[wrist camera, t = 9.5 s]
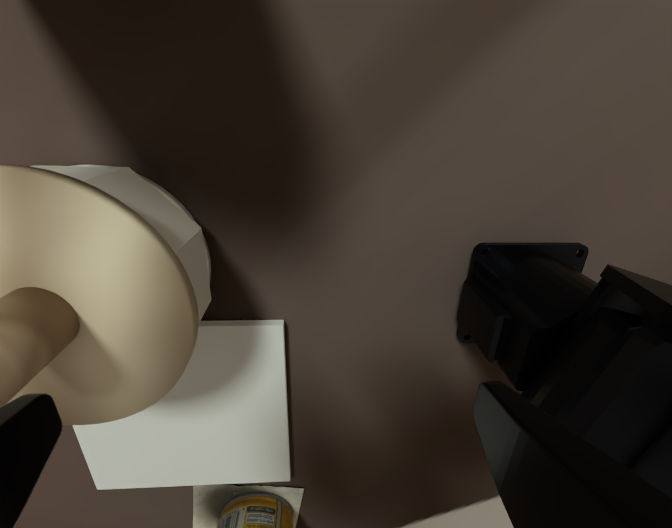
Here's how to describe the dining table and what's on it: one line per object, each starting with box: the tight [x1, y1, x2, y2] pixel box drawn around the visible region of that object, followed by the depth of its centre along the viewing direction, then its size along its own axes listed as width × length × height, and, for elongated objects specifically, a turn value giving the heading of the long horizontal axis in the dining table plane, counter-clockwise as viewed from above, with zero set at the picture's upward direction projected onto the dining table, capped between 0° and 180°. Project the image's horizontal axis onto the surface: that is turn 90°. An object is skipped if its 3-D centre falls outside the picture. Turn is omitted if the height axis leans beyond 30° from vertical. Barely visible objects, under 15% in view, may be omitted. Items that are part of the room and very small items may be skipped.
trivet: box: [73, 320, 290, 490], centre depth 23 cm, size 14×14×1 cm
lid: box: [0, 164, 199, 425], centre depth 12 cm, size 12×12×4 cm
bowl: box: [30, 164, 212, 322], centre depth 17 cm, size 10×10×5 cm
